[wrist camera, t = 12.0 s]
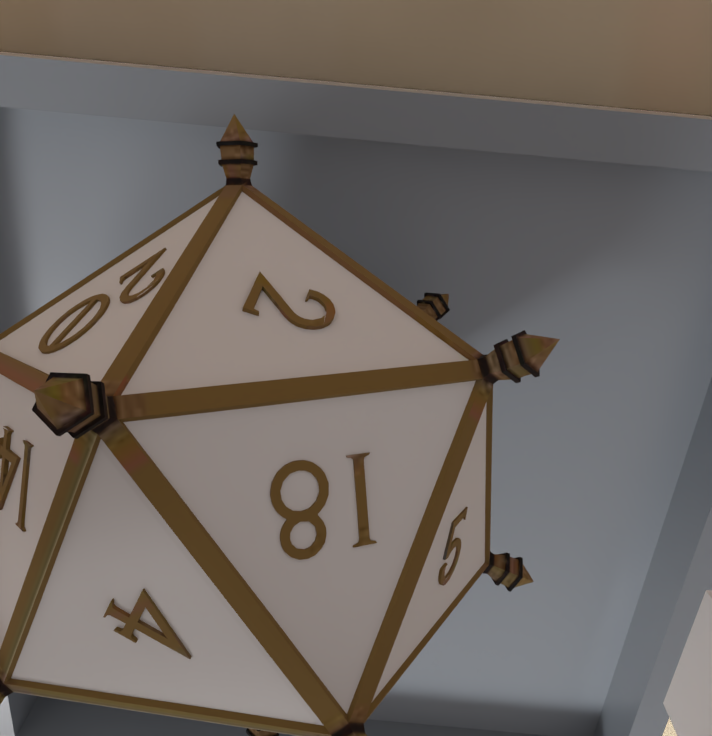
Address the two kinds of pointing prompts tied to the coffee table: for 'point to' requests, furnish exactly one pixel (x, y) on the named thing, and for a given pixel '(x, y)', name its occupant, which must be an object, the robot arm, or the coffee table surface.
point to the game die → (241, 475)
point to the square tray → (465, 319)
